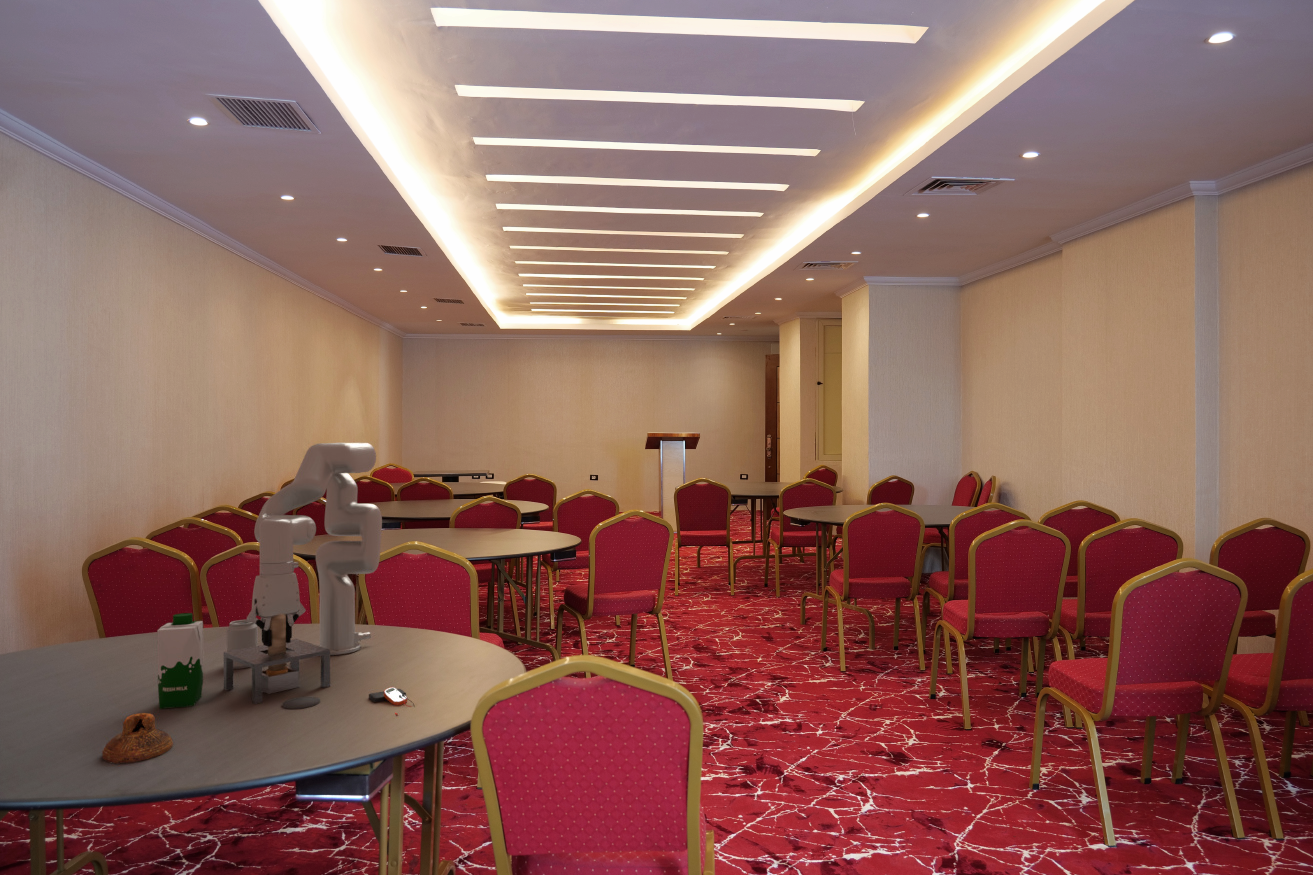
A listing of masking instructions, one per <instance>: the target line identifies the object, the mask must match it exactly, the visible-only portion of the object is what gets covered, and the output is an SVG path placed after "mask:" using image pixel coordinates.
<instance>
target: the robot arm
mask: <svg viewBox="0 0 1313 875" xmlns="http://www.w3.org/2000/svg"><path fill="white" fill-rule="evenodd" d="M376 462H377V453H376V450H375V448H374V446H373V445H372V444H371V443H369V442H327V443H326V442H323V443H316V444H315V443H314V444H313V445H311V446H310V447H308V448H307V450H306V452H305V454H304V456H303V459H302V461H301V463H300V466H299V468H298V470H297V473H296V474H295V477H294V480H293V481H292V482H290V483H289V484H287V485H285V486H284V487H283V488H280V490H278V491H277V492H276V493H274V494H273V495H271V497H269V498H268V499H267V500H265V501H266V502H265V503H264V504H263V505H262V508H261V510H260V512H259V515H258V516H257V519H256V521H255V524H254V525H255V526H254V531H253V532H254V537H255V540H256V541H257V542H258V543H259V575H256V576H255V580H254V584H253V592H252V597H251V598H252V600H251V610H250V612H249V614H247V616H246V620H248V621H250V622H252V623H255V624H256V625H257V626H258V628H259V629H260V630H261V642H262V645H265V646H268V647H270V646H271V645H272V631H271V630H270V621H271V617H274V616H277V615H279V614H284V615H286V643H290V642H291V640H292V638H293V637H292V636H293V626H294V625H295V623H296V621H298V619H299V617H301V616H302V615H304V613H305V612H306V608H305V607H304V605H303V604H302V603H301V601H300V600H301V599H300V588H299V582H298V576H297V574H296V572H294V571H295V569H296V568H299V562H297V561H294V546H300V545H306V544H309V543H310V542H312V540H313V539H314V538H315V535H316V532H317V526H316V523H315V521H314V519H312V518H311V517H310V516H308V515H301V514H300V515H298V514H295V515H290V514H289V515H288V514H287V513H288V512H290V511H292V510H294V509H297V508H301V507H303V506H307V505H310V504H311V503H313V502H314V503H315V502H316V501H319V500H320V499H322V498H323V496H324V495H325V493H326V498H325V499H326V500H325V501H326V502H325V511H324V530H325V532H326V533H327V534H328V535H329V536H333V537H360V538H361V540H330V541H326V542H323V543H322V544H320V545H319V546H318V548H317V549H316V551H315V562H316V569H317V573H318V580H319V581H318V583H319V645H317V646H320V647H323V648H326V649H329V650H330V656H335V655H336V656H337V655H345V654H350V653H351V654H352V653H354V652H357V651H359V650H360V649H361V644H362V643H360V642H361V641H362V640H370V639H371V637H372V635H371V632H370V631H367V632H363V633H362V632H358V631H356V606H355V604H356V602H355V601H356V600H355V599H356V598H355V597H356V590H355V585H354V582H352V580H351V579H350V577H349V575H351V574H352V575H357V574H358V575H359V574H360V575H362V574H363V575H367V574H372V573H374V572H375V571H377V569H378V567H379V564H380V558H381V547H382V546H381V544H382V543H381V542H382V530H383V529H382V527H383V518H382V513H381V510H380V508H379V507H378V506H377V505H375V504H373V503H358V493H359V492H358V490H359V489H358V484H357V482H356V481H355V480H354V478H353V477H352V476H351V475H350V474H361V473H367V472H370V471H371V470H372V469H373V468H374V466H375V465H376ZM257 616H258V617H259V618H260V619H259V618H257Z"/></svg>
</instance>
